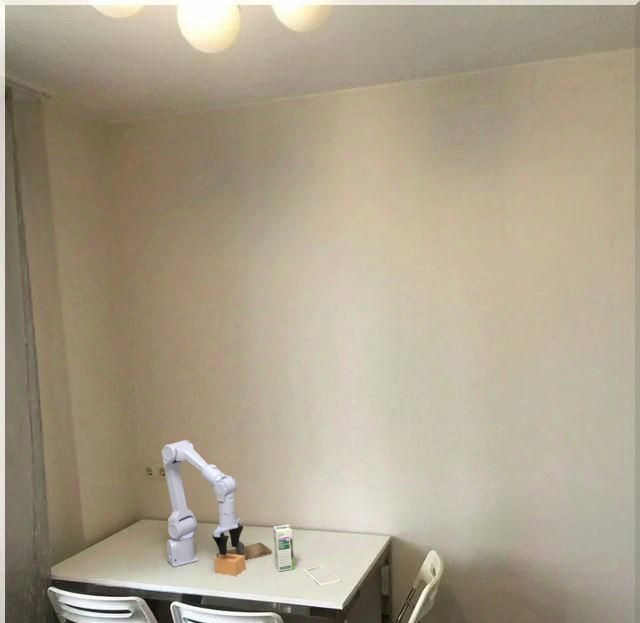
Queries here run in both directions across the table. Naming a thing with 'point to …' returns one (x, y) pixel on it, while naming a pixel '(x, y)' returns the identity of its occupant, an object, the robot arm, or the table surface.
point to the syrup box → (283, 547)
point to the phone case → (326, 570)
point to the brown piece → (249, 550)
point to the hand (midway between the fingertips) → (229, 550)
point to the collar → (229, 564)
